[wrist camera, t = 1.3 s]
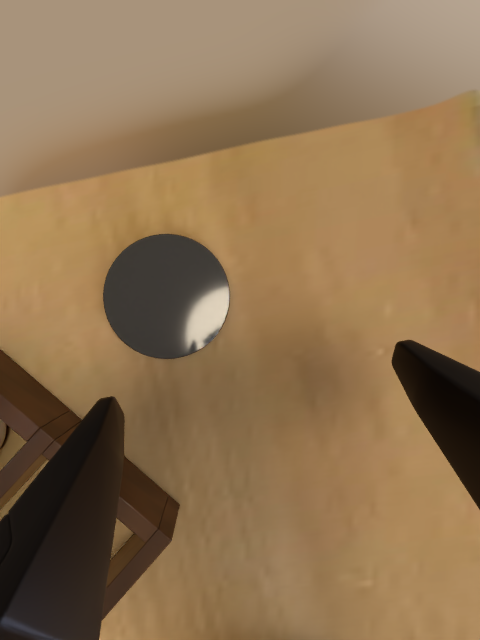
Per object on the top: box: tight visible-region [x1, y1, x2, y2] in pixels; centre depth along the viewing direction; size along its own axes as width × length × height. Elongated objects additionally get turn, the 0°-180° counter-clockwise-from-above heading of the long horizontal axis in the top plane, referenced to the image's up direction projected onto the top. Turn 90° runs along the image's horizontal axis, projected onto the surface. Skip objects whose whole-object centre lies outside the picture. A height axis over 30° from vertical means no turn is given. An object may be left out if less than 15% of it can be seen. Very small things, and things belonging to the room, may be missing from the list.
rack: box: [0, 350, 180, 620], centre depth 21 cm, size 21×11×4 cm, turn 48°
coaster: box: [103, 234, 230, 359], centre depth 24 cm, size 10×10×1 cm
